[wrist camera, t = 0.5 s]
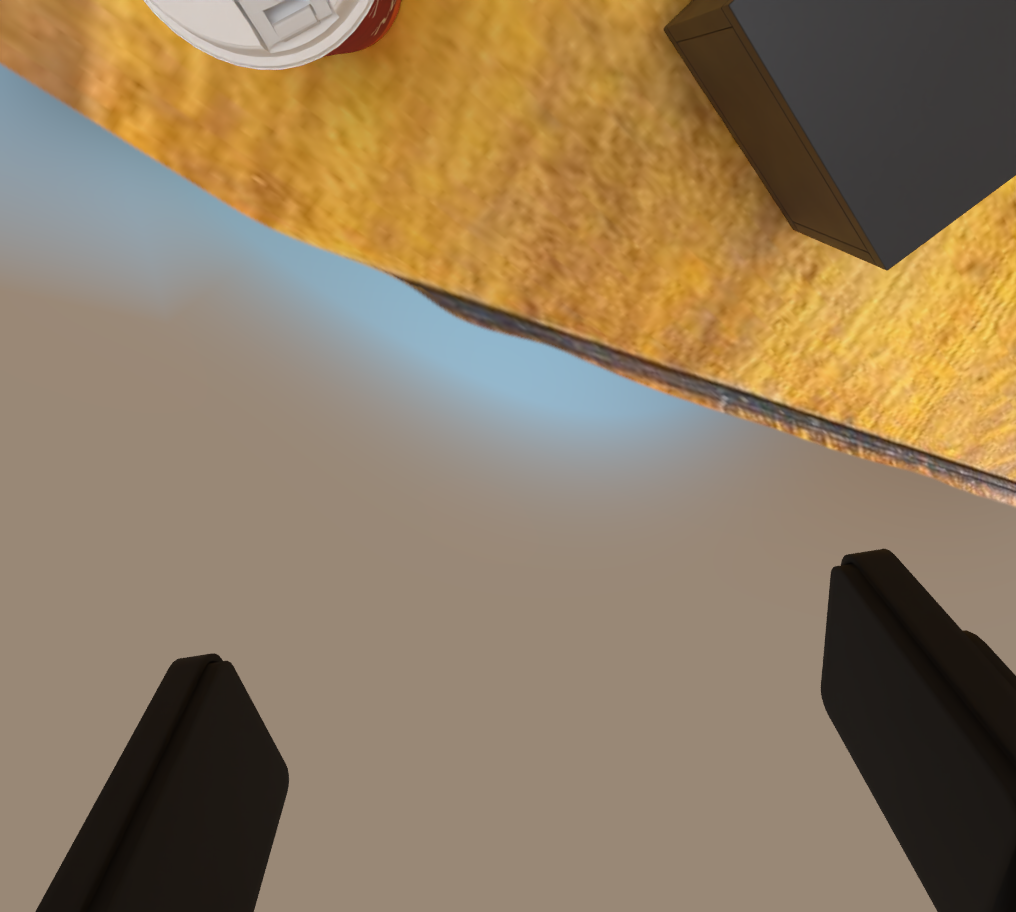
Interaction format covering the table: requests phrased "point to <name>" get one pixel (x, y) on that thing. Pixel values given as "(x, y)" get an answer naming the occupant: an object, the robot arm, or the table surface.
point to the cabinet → (863, 109)
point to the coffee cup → (277, 28)
